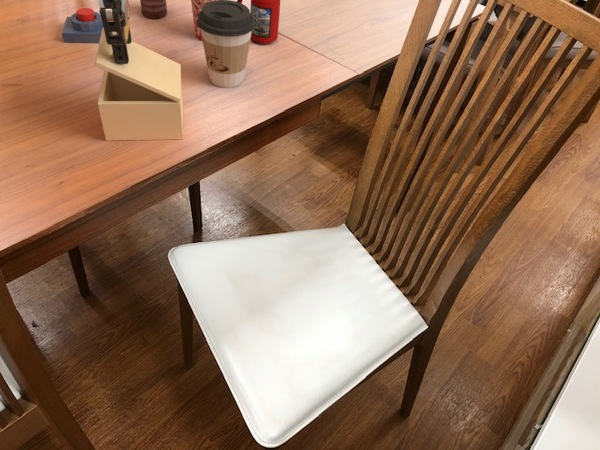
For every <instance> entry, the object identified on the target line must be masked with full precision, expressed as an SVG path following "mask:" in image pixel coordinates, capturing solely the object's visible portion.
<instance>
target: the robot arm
mask: <svg viewBox="0 0 600 450" xmlns="http://www.w3.org/2000/svg"><path fill="white" fill-rule="evenodd" d="M129 2H130V1H129V0H98V5H99V9H98V10H99V11H98V13H99V14H100V15H101V19H102V23H103V27H104V31H105V36H106V42H107V44H108V45H112V50H113V55H114V60H115V63H117V64H128V63H129V56H128V51H127V45H126V44H130V43H131V41H132V34H131V27H130V26H129V33H128V40H127V39H126V36H125V27H126V26H127V19H128V20H129V21H130V18H131V16H130V15H129V13H130V10H131V8H130V3H129ZM120 18H122V21H120ZM112 32H114V33H116V32H118V34H119V35H112ZM126 40H127V43H126Z"/></svg>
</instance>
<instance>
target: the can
mask: <svg viewBox="0 0 600 450" xmlns="http://www.w3.org/2000/svg"><path fill="white" fill-rule="evenodd" d="M139 2H140V11H141V13H142V15H143V17H145V18H147V19H151V20H159V19H162V18H165V17H166V16H167V14H168V9H167V7H168V6H167V0H140V1H139Z"/></svg>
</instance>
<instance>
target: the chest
mask: <svg viewBox="0 0 600 450" xmlns="http://www.w3.org/2000/svg"><path fill="white" fill-rule="evenodd" d="M102 73H103V74H102V79H101V84H100V89H99V95H98V100H97V108H98V112H99V116H100V121H101V125H102V129H103V135H104V139H105V141H106V142H110V141H111V142H112V141H114V142H115V141H116V142H117V141H119V142H120V141H165V140H166V141H167V140H184V100H183V86H182V84H181V100H180V102H177V101H174V100H172V99H170V98H167V97H165V96H163V95H161V94H158V93H156V92H154V91H151V90H149V89H147V88H145V87H142V86H140V85H138V84H135V83H133V82H131V81H129V80H126V79H124V78H122V77H119V76H117V75H115V74H113V73H110V72H108V71H106V70H103V72H102Z"/></svg>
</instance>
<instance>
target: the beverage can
mask: <svg viewBox="0 0 600 450" xmlns="http://www.w3.org/2000/svg"><path fill="white" fill-rule="evenodd" d="M280 10H281V0H250V13H251V14H252V16H253V17H254V22H255V27H254V29H253V30H252V32H251V38H250V39H252V40H253V41H254V42H256V43H258V44H260V45H269V44H272V43H274V42H276V41H277V40H278V38H279V28H280V27H279V26H280V14H281V12H280Z"/></svg>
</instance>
